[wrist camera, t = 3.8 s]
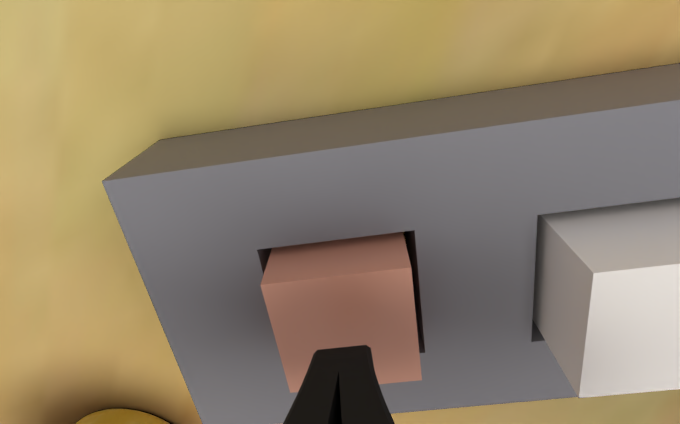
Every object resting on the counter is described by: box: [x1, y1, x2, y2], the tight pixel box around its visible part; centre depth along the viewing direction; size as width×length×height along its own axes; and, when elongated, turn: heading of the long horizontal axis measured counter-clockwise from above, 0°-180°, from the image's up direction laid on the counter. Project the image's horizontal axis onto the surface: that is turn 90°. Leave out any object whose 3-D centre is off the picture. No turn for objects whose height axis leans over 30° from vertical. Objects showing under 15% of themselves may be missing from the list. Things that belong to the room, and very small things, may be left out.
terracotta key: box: [260, 232, 422, 393], centre depth 14 cm, size 4×4×4 cm
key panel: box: [102, 63, 680, 424], centre depth 15 cm, size 20×10×4 cm, turn 99°
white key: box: [532, 197, 680, 398], centre depth 12 cm, size 4×4×4 cm
